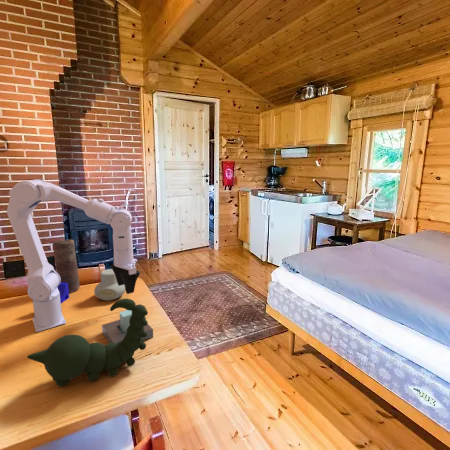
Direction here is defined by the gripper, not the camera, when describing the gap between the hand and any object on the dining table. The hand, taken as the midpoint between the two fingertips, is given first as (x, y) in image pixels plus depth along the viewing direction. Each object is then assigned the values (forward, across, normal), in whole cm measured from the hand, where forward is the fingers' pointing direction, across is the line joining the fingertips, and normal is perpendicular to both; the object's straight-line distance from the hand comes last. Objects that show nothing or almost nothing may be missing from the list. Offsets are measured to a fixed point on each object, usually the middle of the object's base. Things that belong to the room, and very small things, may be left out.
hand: (125, 288), depth 96 cm
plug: (+9, -11, +4) cm, 15 cm away
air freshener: (+10, +17, 0) cm, 20 cm away
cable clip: (+10, +23, +18) cm, 31 cm away
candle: (+10, +33, +11) cm, 36 cm away
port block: (+9, -11, +4) cm, 15 cm away
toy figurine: (+10, -22, +16) cm, 29 cm away
